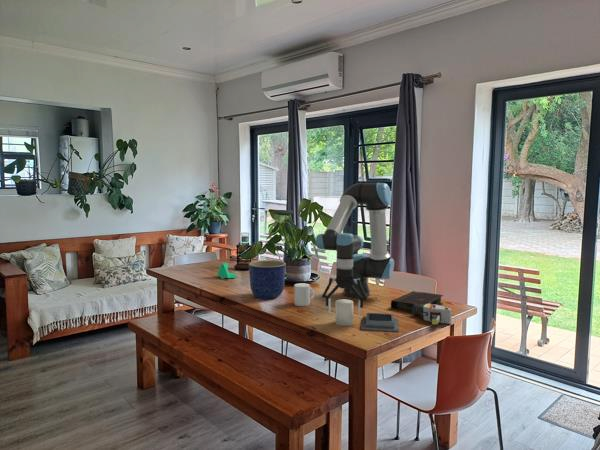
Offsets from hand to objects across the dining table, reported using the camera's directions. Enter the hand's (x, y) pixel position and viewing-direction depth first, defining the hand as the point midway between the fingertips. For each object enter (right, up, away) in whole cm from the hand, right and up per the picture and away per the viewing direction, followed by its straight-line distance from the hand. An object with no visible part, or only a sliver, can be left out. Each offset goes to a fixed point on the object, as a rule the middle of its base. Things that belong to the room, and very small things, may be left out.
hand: (344, 313), depth 199 cm
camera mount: (-69, +4, +97) cm, 120 cm away
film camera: (+39, -4, +3) cm, 39 cm away
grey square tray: (+16, -5, -2) cm, 17 cm away
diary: (+41, -2, +28) cm, 49 cm away
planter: (-38, 0, +47) cm, 61 cm away
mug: (-17, -1, +33) cm, 37 cm away
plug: (0, -4, +1) cm, 4 cm away
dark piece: (-62, +7, +127) cm, 141 cm away
